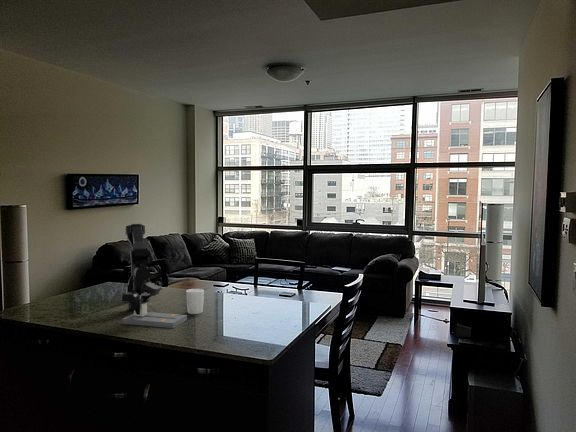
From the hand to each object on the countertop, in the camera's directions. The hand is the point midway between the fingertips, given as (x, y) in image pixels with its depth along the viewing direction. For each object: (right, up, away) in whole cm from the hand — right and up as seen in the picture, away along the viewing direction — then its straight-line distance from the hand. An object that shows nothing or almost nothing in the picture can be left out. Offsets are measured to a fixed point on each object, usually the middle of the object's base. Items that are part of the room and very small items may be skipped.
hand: (140, 313), depth 183 cm
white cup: (+20, -3, +14) cm, 24 cm away
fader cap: (0, -1, 0) cm, 1 cm away
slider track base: (+7, -3, -1) cm, 7 cm away
